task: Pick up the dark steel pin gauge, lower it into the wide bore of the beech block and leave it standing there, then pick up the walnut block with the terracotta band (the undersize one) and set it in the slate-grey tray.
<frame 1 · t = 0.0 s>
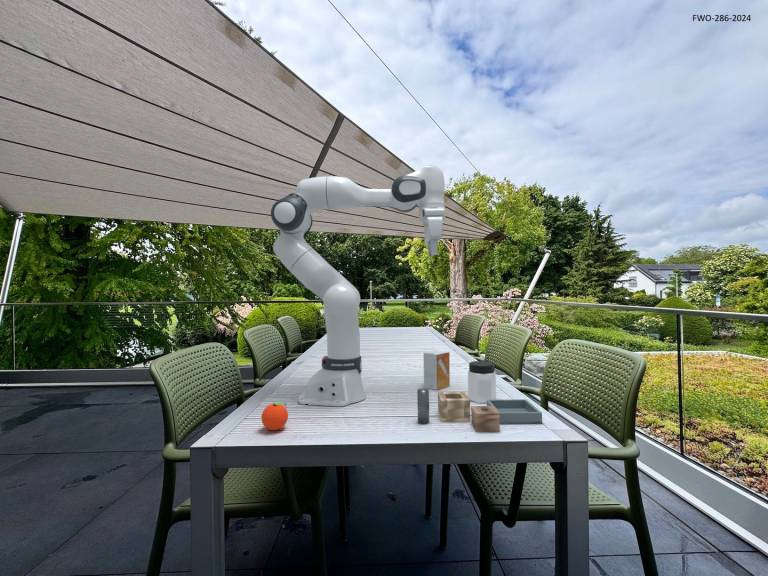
hand: (432, 255, 127), 48 cm above the table, tool pointing down, fingers open, 8 cm apart
jar: (482, 400, 124), on the table
clementine: (276, 429, 102), on the table
walnut block: (485, 428, 100), on the table
tray: (512, 416, 108), on the table
beech block: (453, 416, 109), on the table
small box: (436, 387, 141), on the table
pin gauge: (423, 422, 105), on the table
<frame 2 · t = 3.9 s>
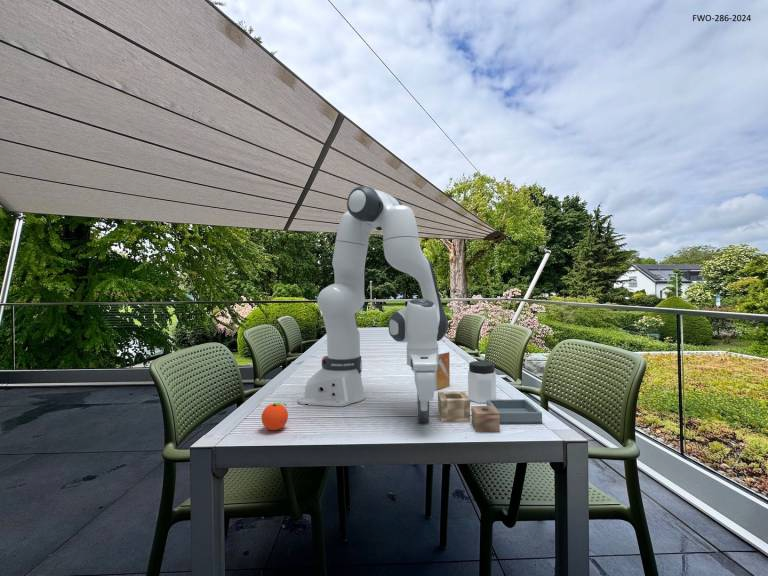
hand: (423, 407, 105), 4 cm above the table, tool pointing down, fingers closed on pin gauge, 3 cm apart
pin gauge: (423, 422, 105), on the table, touching gripper
everything else where it was.
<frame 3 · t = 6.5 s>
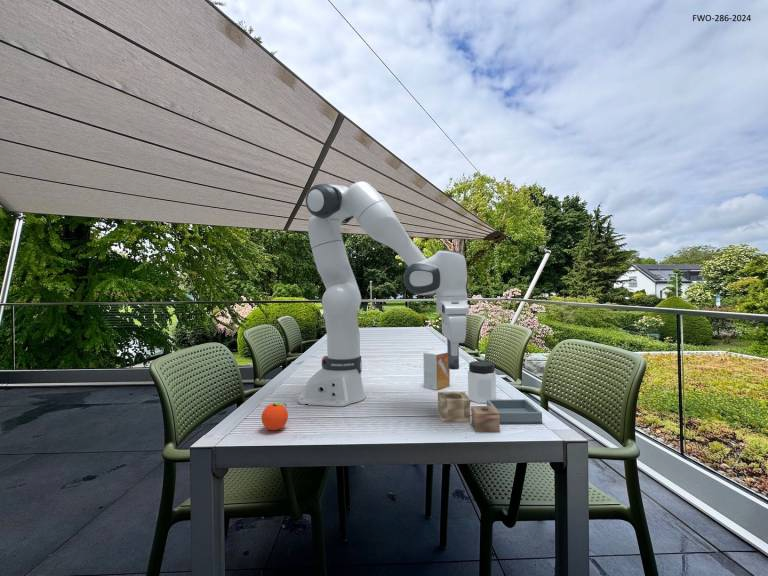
hand: (452, 354, 108), 18 cm above the table, tool pointing down, fingers closed on pin gauge, 3 cm apart
pin gauge: (453, 368, 108), point 14 cm above the table, touching gripper
everything else where it was.
when the fingers open (7 cm above the table, at t = 9.1 s): pin gauge drops 2 cm, resting on beech block.
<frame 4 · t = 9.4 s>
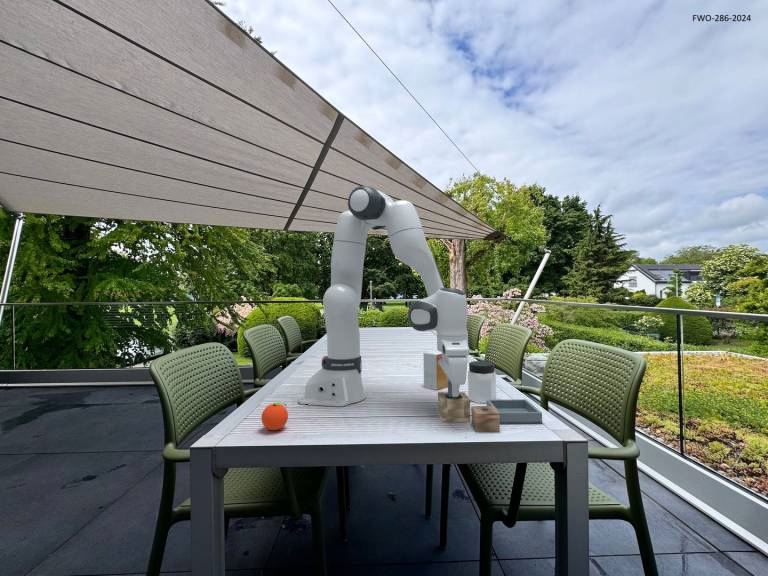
hand: (453, 392, 109), 7 cm above the table, tool pointing down, fingers open, 6 cm apart
pin gauge: (453, 413, 109), point 1 cm above the table, touching beech block
everything else where it was.
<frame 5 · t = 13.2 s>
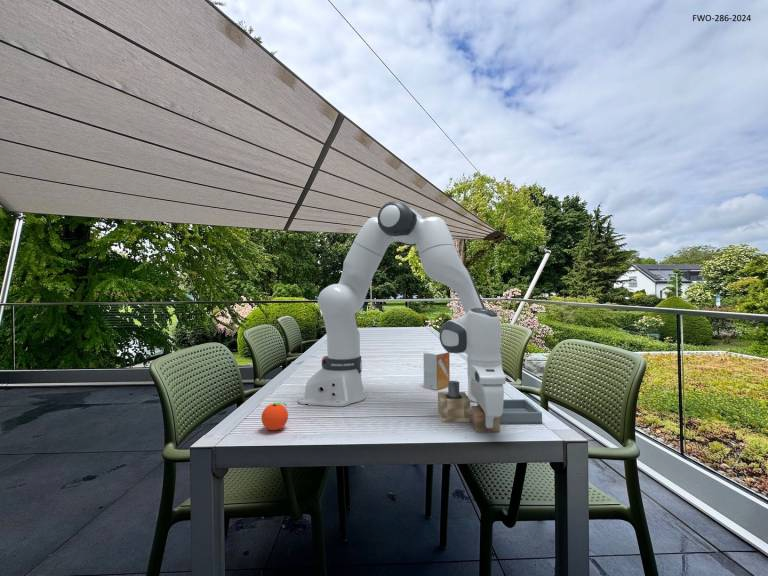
hand: (485, 421, 100), 2 cm above the table, tool pointing down, fingers closed on walnut block, 6 cm apart
walnut block: (485, 427, 100), on the table, touching gripper
everything else where it was.
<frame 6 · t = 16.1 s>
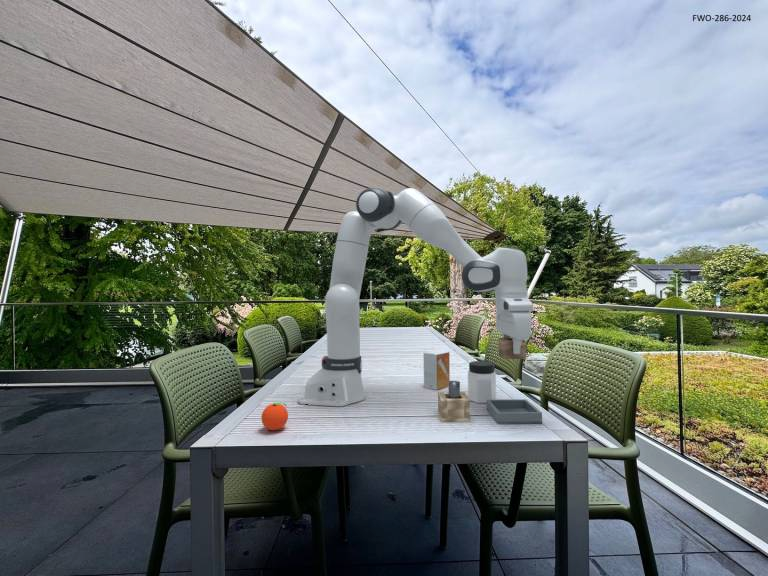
hand: (511, 351, 108), 19 cm above the table, tool pointing down, fingers closed on walnut block, 6 cm apart
walnut block: (512, 356, 108), point 17 cm above the table, touching gripper
everything else where it was.
when the fingers open (4 cm above the table, at t = 19.2 s): walnut block drops 2 cm, resting on tray.
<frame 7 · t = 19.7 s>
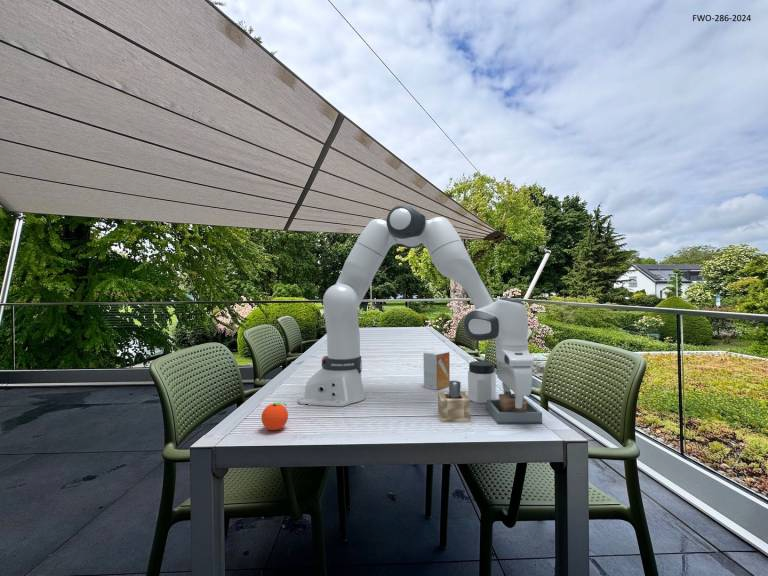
hand: (512, 402, 108), 4 cm above the table, tool pointing down, fingers open, 8 cm apart
walnut block: (512, 414, 108), point 1 cm above the table, touching tray
everything else where it was.
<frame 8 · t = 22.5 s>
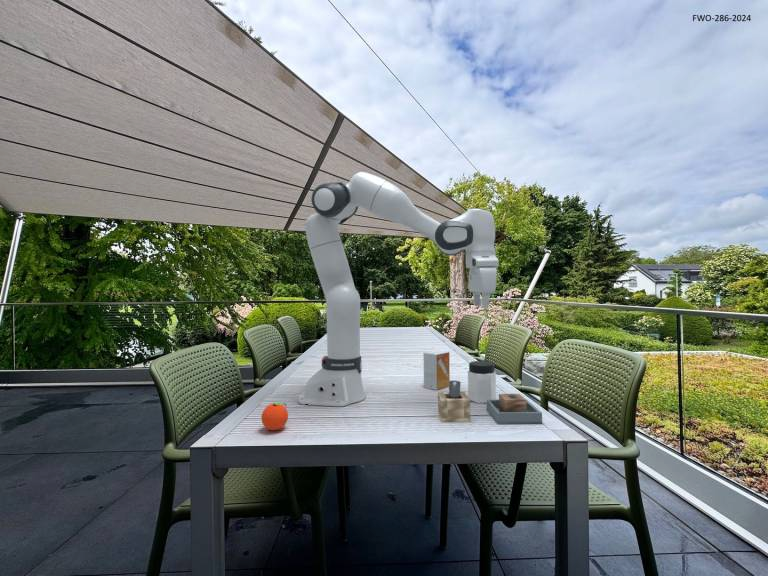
hand: (481, 307, 115), 31 cm above the table, tool pointing down, fingers open, 8 cm apart
nothing on the table moved.
at the end: walnut block inside the target area on the tray (0.1 cm from its centre), point 0.6 cm above the tray's base; pin gauge 0.1 cm off-centre on the beech block, point 1.1 cm above the beech block's base; walnut block tilted 0° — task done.
